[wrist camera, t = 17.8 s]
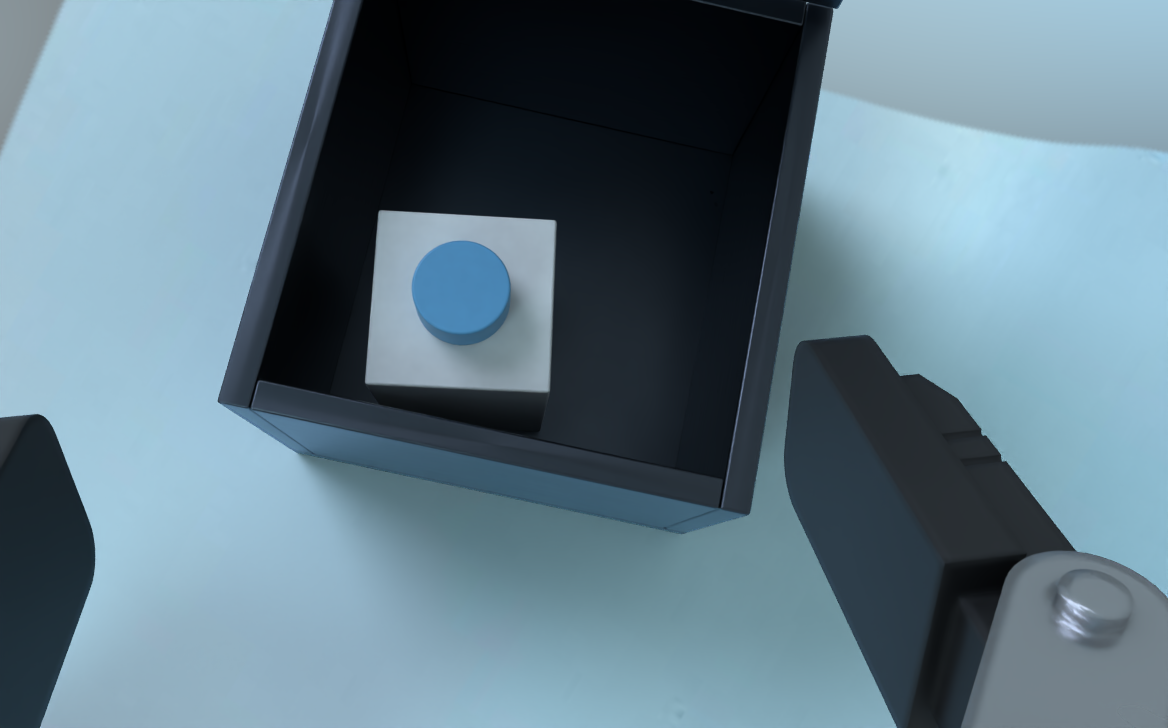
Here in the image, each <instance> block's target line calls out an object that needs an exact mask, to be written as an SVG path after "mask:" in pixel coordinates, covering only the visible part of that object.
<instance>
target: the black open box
mask: <svg viewBox="0 0 1168 728" xmlns="http://www.w3.org/2000/svg"><path fill="white" fill-rule="evenodd" d="M832 16H833V9H832V8H830V7H826V6H822V5H817V4H813V3H807V5H806V2H804V1H800V0H333V4H332V7H331V11H330V14H329V18H328V21H327V25H326V28H325V31H324V35H323V38H322V42H321V45H320V49H319V52H318V56H317V59H316V63H315V66H314V69H313V73H312V76H311V80H310V83H309V87H308V90H307V94H306V97H305V100H304V104H303V107H302V111H301V114H300V118H299V121H298V125H297V128H296V132H295V135H294V138H293V142H292V145H291V149H290V152H289V156H288V159H287V163H286V166H285V170H284V173H283V176H282V180H281V183H280V187H279V190H278V194H277V197H276V201H275V204H274V207H273V211H272V214H271V218H270V221H269V225H268V228H267V232H266V235H265V239H264V242H263V245H262V249H261V252H260V256H259V259H258V263H257V266H256V270H255V273H254V277H253V280H252V283H251V287H250V290H249V294H248V297H247V301H246V304H245V308H244V311H243V314H242V318H241V321H240V325H239V328H238V332H237V335H236V339H235V342H234V346H233V349H232V352H231V356H230V359H229V363H228V366H227V370H226V373H225V377H224V380H223V384H222V387H221V390H220V394H219V397H218V402H219V403H220V404H222V405H223V406H225V407H226V408H228V409H229V410H231V411H232V412H234V413H236V414H237V415H239V416H240V417H242V418H243V419H245V420H246V421H248V422H250V423H251V424H253V425H254V426H256V427H257V428H259V429H260V430H262V431H263V432H265V433H267V434H268V435H270V436H271V437H273V438H274V439H276V440H277V441H279V442H281V443H282V444H284V445H285V446H287V447H288V448H290V449H292V450H293V451H295V452H297V453H301V454H306V455H311V456H316V457H320V458H325V459H330V460H334V461H339V462H344V463H349V464H353V465H358V466H363V467H367V468H372V469H377V470H382V471H386V472H391V473H396V474H400V475H405V476H410V477H415V478H419V479H424V480H429V481H434V482H438V483H443V484H448V485H452V486H457V487H462V488H467V489H471V490H476V491H481V492H485V493H490V494H495V495H500V496H504V497H509V498H514V499H518V500H523V501H528V502H533V503H537V504H542V505H547V506H551V507H556V508H561V509H566V510H570V511H575V512H580V513H585V514H589V515H594V516H599V517H603V518H608V519H613V520H618V521H622V522H627V523H632V524H636V525H641V526H646V527H651V528H655V529H660V530H665V531H669V532H674V533H679V534H684V533H687V532H690V531H694V530H697V529H701V528H704V527H708V526H711V525H715V524H718V523H722V522H725V521H729V520H733V519H736V518H740V517H743V516H747V515H749V514H750V511H751V505H752V499H753V493H754V487H755V481H756V475H757V469H758V463H759V457H760V451H761V445H762V439H763V433H764V427H765V421H766V415H767V409H768V403H769V397H770V391H771V385H772V379H773V372H774V366H775V360H776V354H777V348H778V342H779V336H780V330H781V324H782V318H783V312H784V306H785V300H786V294H787V288H788V282H789V276H790V270H791V264H792V258H793V252H794V246H795V240H796V234H797V228H798V222H799V216H800V210H801V203H802V197H803V191H804V185H805V179H806V173H807V167H808V161H809V155H810V149H811V143H812V137H813V131H814V125H815V119H816V113H817V107H818V101H819V95H820V89H821V83H822V77H823V70H824V65H825V59H826V52H827V46H828V41H829V34H830V28H831V22H832ZM381 210H385V211H403V212H420V213H437V214H455V215H472V216H490V217H507V218H524V219H542V220H555V221H556V223H557V230H556V255H555V280H554V305H553V331H552V356H551V381H550V393H549V397H548V401H547V405H546V409H545V413H544V417H543V421H542V425H541V429H540V431H519V430H496V429H491V428H486V427H481V426H477V425H472V424H467V423H463V422H458V421H453V420H449V419H444V418H439V417H435V416H430V415H425V414H421V413H416V412H411V411H407V410H402V409H397V408H393V407H388V406H383V405H379V403H378V402H377V400H376V399H375V397H374V396H373V394H372V393H371V391H370V390H369V389H368V387H367V386H366V384H365V375H366V362H367V350H368V337H369V324H370V312H371V299H372V286H373V274H374V261H375V248H376V236H377V223H378V213H379V211H381Z"/></svg>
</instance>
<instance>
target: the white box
mask: <svg viewBox="0 0 1168 728" xmlns="http://www.w3.org/2000/svg"><path fill="white" fill-rule="evenodd" d="M556 230H557V223H556V221H555V220H542V219H524V218H507V217H490V216H472V215H455V214H437V213H420V212H403V211H385V210H381V211H379V213H378V223H377V236H376V248H375V261H374V274H373V286H372V299H371V312H370V324H369V337H368V350H367V362H366V375H365V384H366V386H367V387H368V389H369V390H370V391H371V393H372V394H373V396H374V397H375V399H376V400H377V402H378V403H379V405H383V406H388V407H393V408H397V409H402V410H407V411H411V412H416V413H421V414H425V415H430V416H435V417H439V418H444V419H449V420H453V421H458V422H463V423H467V424H472V425H477V426H481V427H486V428H491V429H496V430H519V431H540V429H541V425H542V421H543V417H544V413H545V409H546V405H547V401H548V397H549V393H550V381H551V356H552V331H553V305H554V280H555V255H556Z"/></svg>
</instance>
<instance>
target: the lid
mask: <svg viewBox="0 0 1168 728" xmlns="http://www.w3.org/2000/svg"><path fill="white" fill-rule="evenodd" d="M800 1H804V2H809V3H813V4H817V5H822V6H826V7H830V8H835V9H837V8H839V6H840V4H841V2H842V1H843V0H800Z"/></svg>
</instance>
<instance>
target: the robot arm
mask: <svg viewBox="0 0 1168 728" xmlns="http://www.w3.org/2000/svg"><path fill="white" fill-rule="evenodd" d="M784 467H785V477H786V483H787V488H788V492H789V496H790V499H791V502H792V505H793V507H794V509H795V512H796V514H797V516H798V518H799V520H800V522H801V524H802V526H803V529H804V531H805V533H806V535H807V537H808V539H809V541H810V543H811V546H812V548H813V550H814V552H815V554H816V556H817V558H818V560H819V563H820V565H821V567H822V569H823V571H824V573H825V575H826V577H827V580H828V582H829V584H830V586H831V588H832V590H833V592H834V594H835V597H836V599H837V601H838V603H839V605H840V607H841V609H842V611H843V614H844V616H845V618H846V620H847V622H848V624H849V626H850V628H851V630H852V633H853V635H854V637H855V639H856V641H857V643H858V645H859V647H860V650H861V652H862V654H863V656H864V658H865V660H866V662H867V664H868V667H869V669H870V671H871V673H872V675H873V677H874V679H875V681H876V684H877V686H878V688H879V690H880V692H881V694H882V696H883V698H884V701H885V703H886V705H887V707H888V709H889V711H890V713H891V715H892V718H893V720H894V722H895V724H896V726H897V728H1168V598H1167V597H1166V596H1165V595H1164V594H1163V593H1162V592H1161V591H1160V590H1159V589H1158V588H1157V587H1156V586H1155V585H1154V584H1152V583H1151V582H1150V581H1148V580H1147V579H1146V578H1144V577H1143V576H1141V575H1140V574H1138V573H1136V572H1135V571H1133V570H1131V569H1130V568H1128V567H1125V566H1123V565H1121V564H1119V563H1117V562H1114V561H1112V560H1109V559H1106V558H1103V557H1100V556H1096V555H1092V554H1088V553H1082V552H1076V551H1075V549H1074V548H1073V547H1072V545H1071V544H1070V543H1069V542H1068V540H1067V539H1066V538H1065V536H1064V535H1063V534H1062V533H1061V531H1060V530H1059V529H1058V527H1057V526H1056V525H1055V524H1054V522H1053V521H1052V520H1051V518H1050V517H1049V516H1048V515H1047V513H1046V512H1045V511H1044V509H1043V508H1042V507H1041V506H1040V504H1039V503H1038V502H1037V500H1036V499H1035V498H1034V497H1033V495H1032V494H1031V493H1030V491H1029V490H1028V489H1027V488H1026V486H1025V485H1024V484H1023V482H1022V481H1021V480H1020V479H1019V477H1018V476H1017V475H1016V473H1015V472H1014V471H1013V470H1012V468H1011V467H1010V466H1009V464H1008V463H1007V462H1006V461H1004V462H1002V460H1001V454H1000V453H999V452H998V450H997V449H996V448H995V446H994V445H993V444H992V443H991V441H990V440H989V439H988V437H987V436H982V434H981V428H980V427H979V426H978V425H977V423H976V422H975V421H974V419H973V418H972V417H971V416H970V414H969V413H968V412H967V410H966V409H965V408H964V407H963V405H962V404H961V403H960V401H959V400H958V399H957V398H955V397H954V396H952V395H951V394H949V393H948V392H946V391H945V390H943V389H941V388H940V387H938V386H937V385H935V384H934V383H932V382H931V381H929V380H927V379H926V378H924V377H923V376H921V375H920V374H914V375H904V376H899V374H898V373H897V371H896V370H895V369H894V367H893V366H892V365H891V363H890V362H889V360H888V359H887V358H886V356H885V355H884V353H883V352H882V351H881V349H880V348H879V346H878V345H877V344H876V342H875V341H874V340H873V339H872V338H871V337H870V336H868V335H859V336H849V337H839V338H829V339H819V340H808V341H801V342H800V343H799V345H798V346H797V348H796V351H795V355H794V362H793V371H792V381H791V390H790V400H789V410H788V420H787V429H786V439H785V449H784ZM94 569H95V544H94V537H93V532H92V528H91V525H90V522H89V519H88V517H87V514H86V512H85V509H84V506H83V504H82V501H81V499H80V496H79V493H78V491H77V488H76V486H75V483H74V480H73V478H72V475H71V473H70V470H69V467H68V465H67V462H66V460H65V457H64V454H63V452H62V449H61V447H60V444H59V441H58V439H57V436H56V434H55V432H54V429H53V427H52V426H51V424H50V422H49V421H48V420H47V419H46V418H45V417H44V416H42V415H39V414H33V415H23V416H13V417H3V418H0V728H40V726H41V723H42V720H43V717H44V715H45V712H46V709H47V706H48V704H49V701H50V698H51V695H52V692H53V690H54V687H55V684H56V681H57V679H58V676H59V673H60V670H61V668H62V665H63V662H64V659H65V657H66V654H67V651H68V648H69V646H70V643H71V640H72V637H73V635H74V632H75V629H76V626H77V624H78V621H79V618H80V615H81V613H82V610H83V607H84V604H85V601H86V599H87V596H88V593H89V590H90V588H91V584H92V581H93V576H94Z"/></svg>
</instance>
